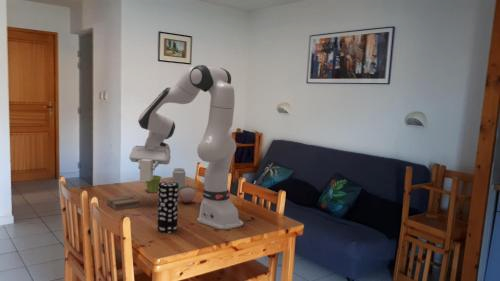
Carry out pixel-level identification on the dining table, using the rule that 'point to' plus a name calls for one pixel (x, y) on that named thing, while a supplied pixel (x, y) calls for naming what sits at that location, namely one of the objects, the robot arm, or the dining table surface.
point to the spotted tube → (167, 207)
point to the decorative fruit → (187, 193)
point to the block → (146, 169)
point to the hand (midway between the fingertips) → (146, 169)
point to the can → (179, 176)
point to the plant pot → (153, 184)
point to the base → (123, 202)
